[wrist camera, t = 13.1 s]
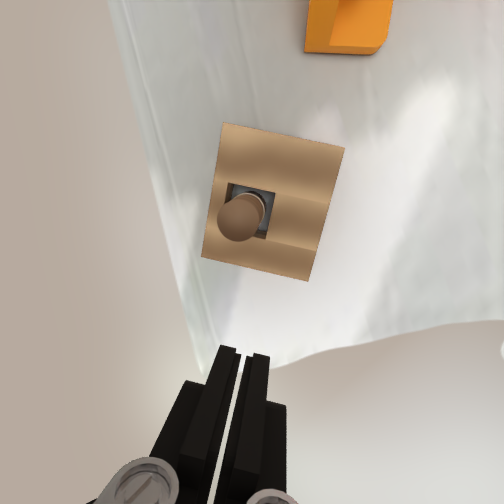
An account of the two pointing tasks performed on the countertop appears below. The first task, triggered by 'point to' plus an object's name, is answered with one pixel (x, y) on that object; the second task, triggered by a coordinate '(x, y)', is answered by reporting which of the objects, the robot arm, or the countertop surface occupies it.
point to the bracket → (347, 26)
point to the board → (285, 203)
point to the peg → (241, 216)
